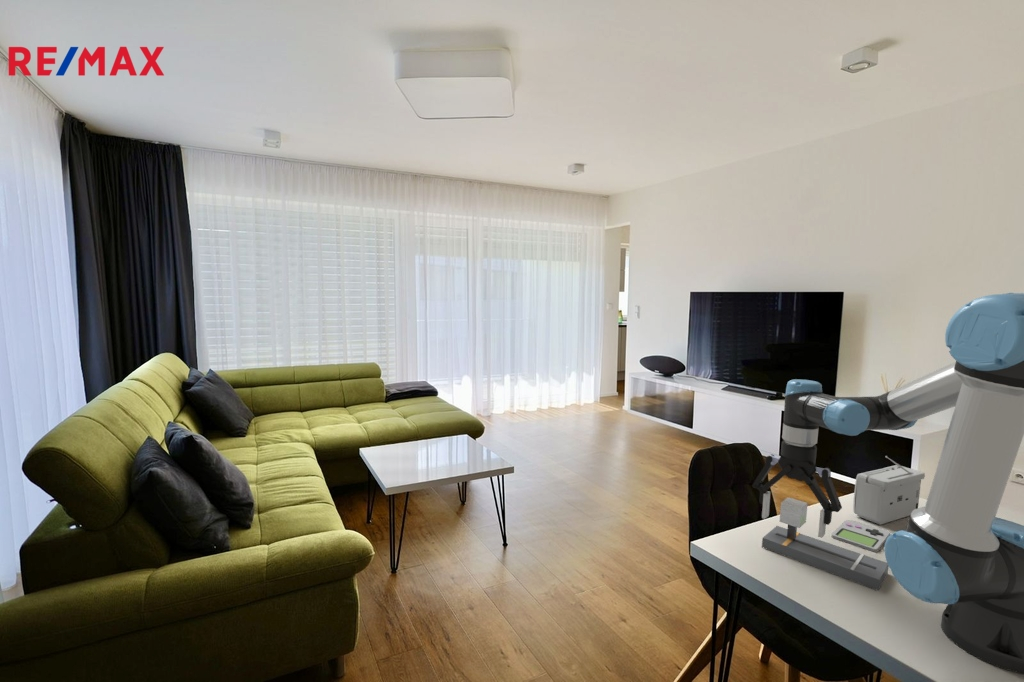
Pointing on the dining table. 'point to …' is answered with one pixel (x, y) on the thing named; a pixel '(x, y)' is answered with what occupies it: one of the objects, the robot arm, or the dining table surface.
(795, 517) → the cap
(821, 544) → the fader board
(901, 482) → the stereo radio cassette player
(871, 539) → the handheld gaming console
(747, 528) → the dining table surface
